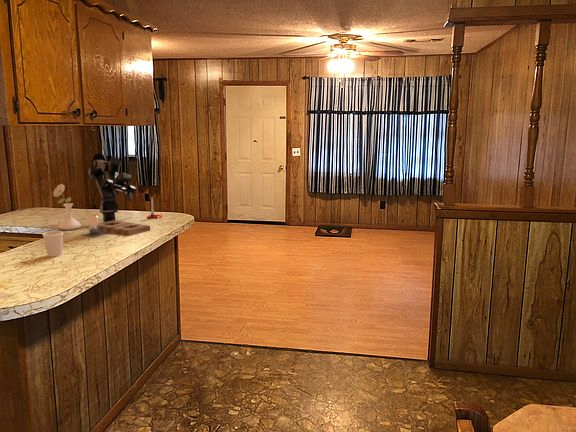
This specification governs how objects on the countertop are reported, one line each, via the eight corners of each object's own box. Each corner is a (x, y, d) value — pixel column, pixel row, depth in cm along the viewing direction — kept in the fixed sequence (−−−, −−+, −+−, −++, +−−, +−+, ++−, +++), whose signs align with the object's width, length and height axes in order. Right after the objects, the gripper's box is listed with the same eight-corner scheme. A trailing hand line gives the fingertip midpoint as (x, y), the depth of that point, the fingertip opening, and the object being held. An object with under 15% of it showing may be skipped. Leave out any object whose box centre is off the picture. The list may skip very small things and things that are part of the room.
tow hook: (151, 216, 300) (145, 218, 291) (151, 195, 298) (144, 197, 289) (164, 216, 299) (158, 219, 290) (164, 196, 297) (158, 197, 288)
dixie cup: (59, 251, 218) (57, 229, 216) (68, 254, 213) (67, 232, 211) (40, 255, 212) (38, 233, 210) (49, 258, 206) (47, 236, 204)
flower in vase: (74, 226, 270) (70, 181, 265) (86, 228, 264) (82, 183, 259) (51, 230, 260) (47, 183, 255) (63, 233, 253) (59, 185, 248)
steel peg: (87, 234, 248) (86, 215, 246) (95, 232, 252) (93, 213, 250) (93, 235, 246) (92, 216, 244) (101, 233, 250) (100, 214, 248)
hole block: (92, 230, 260) (92, 224, 259) (113, 225, 272) (113, 220, 271) (130, 236, 246) (129, 230, 246) (150, 231, 258) (150, 225, 258)
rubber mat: (78, 236, 247) (78, 235, 247) (96, 231, 256) (96, 230, 256) (93, 238, 241) (93, 237, 241) (110, 234, 251) (110, 233, 251)
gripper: (107, 163, 251) (116, 184, 243) (137, 172, 266) (146, 192, 258) (96, 178, 255) (104, 199, 247) (125, 186, 270) (134, 206, 262)
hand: (123, 199), depth 253 cm, fingers open, 9 cm apart
